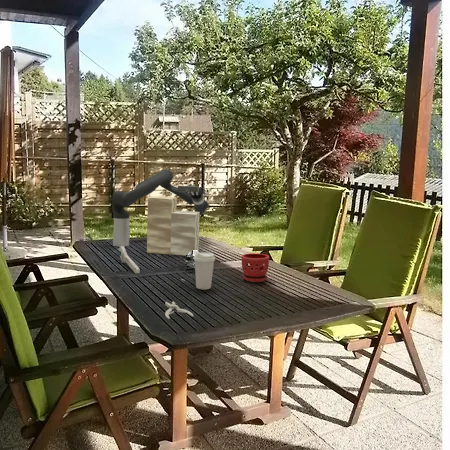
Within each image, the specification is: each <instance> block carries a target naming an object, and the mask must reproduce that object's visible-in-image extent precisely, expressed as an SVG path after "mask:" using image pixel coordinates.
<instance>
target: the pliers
mask: <svg viewBox="0 0 450 450" xmlns="http://www.w3.org/2000/svg"><path fill="white" fill-rule="evenodd" d="M164 306H165V307H166V308H168V309H167V310H166V311H165V312H164V315H165V317H166V319H168V320H170V319H171V317H170V316H169V315H172V314H174V313H175V311H174V310H176V312H177V313H182V314H188V315H189V316H191V317H194V314H193V313H192V312H191V311H189V310H187V309H184V308H180V306H178V305H177V304H176V302H175V301H172V302H171V303H169V302H168V301H165V302H164Z"/></svg>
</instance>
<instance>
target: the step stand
mask: <svg viewBox="0 0 450 450" xmlns="http://www.w3.org/2000/svg"><path fill="white" fill-rule="evenodd" d="M177 206H178V196H164V195H163V196H162V195H161V196H160V195H152V196H149V197H147V218H146V219H147V220H146V221H147V224H146V227H147V230H146V232H147V233H146V253H147V254H159V255H160V254H162V255H171V256H172V255H173V256H174V255H175V256H186V255H187V254H188V253H189V252H190V251H192V250H198V251H199V247H200V246H199V244H200V243H199V240H200V212H195V211H190V210H177V208H178V207H177Z"/></svg>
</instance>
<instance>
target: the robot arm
mask: <svg viewBox="0 0 450 450" xmlns="http://www.w3.org/2000/svg"><path fill="white" fill-rule="evenodd" d="M173 179H174V173H173V171H171V170H169V169H165V168H164V169H161V170H160V171H159V172H158V173H156V174H155V175H152V176H151V177H148V178H146V179H144V180H142V181H139V183H137V184H136V185H135V188H134V189H132V190H130V191H129V190H128V191H120V190H119V191H118V190H116V191H114V193H113V194H112V198H111V207H112V214H113V230H112V246H113V247H119V248H120V246H124V247H129V246H130V213H129V212H127V210H126V209H125V208H128V207H130V206H132V205H134V204H135V203H136V202H137V201H138V200H141V199H142V198H144V197H146V196H148V195H151V193H153V192H154V191H155V190H157V189H158V188H159V186H160V187H161V188H163V189H164V190H167V191H168V192H170V193H172V194H174V195H175V196H176V197H179V198H180V199H182V201H184V202H186V203H187V204H188V205H190V206H191V205H193V210H194V211H193V212H200V215H203V214H204V213H205V212H206V210H207V209H208V207H209V206H210V205H209V204H210V203H209V202H208V201H207V200H205V197H204V195H206V193H207V190H206V189H204V188H203V187H202V186H200V187H199V185H198V184H197V183H195V184H194V185H195V186H196V187H199V192H185V191H178V186H175V185H173V184H172V183H171V182H172V180H173ZM191 185H193V184H192V183H189V184H188V186H191Z"/></svg>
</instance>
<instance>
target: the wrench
mask: <svg viewBox="0 0 450 450" xmlns="http://www.w3.org/2000/svg"><path fill="white" fill-rule="evenodd" d="M125 247H126V246H125ZM125 247H124V246H120V247H119V248H118V251H120V254H121V255H120V256H119V259H120V260H121V263H123V264H125V263H126V265H127V266H129V268H130V269H131V270H132V271H133V272H134V274H136V275H137V274H138V275H139V274H140V271H141V270H140V267H139V266H138V265H137V264H136V263H135V262H134V261H133V260H132V259H131V258H130V256H128V253H127V250H126V248H125Z"/></svg>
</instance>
